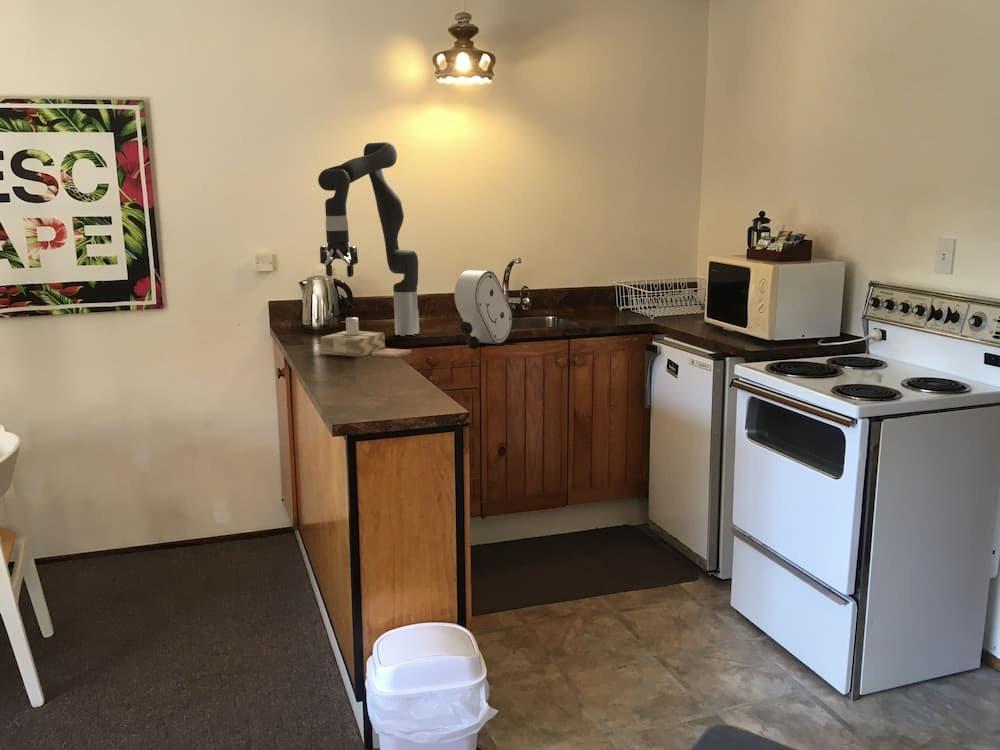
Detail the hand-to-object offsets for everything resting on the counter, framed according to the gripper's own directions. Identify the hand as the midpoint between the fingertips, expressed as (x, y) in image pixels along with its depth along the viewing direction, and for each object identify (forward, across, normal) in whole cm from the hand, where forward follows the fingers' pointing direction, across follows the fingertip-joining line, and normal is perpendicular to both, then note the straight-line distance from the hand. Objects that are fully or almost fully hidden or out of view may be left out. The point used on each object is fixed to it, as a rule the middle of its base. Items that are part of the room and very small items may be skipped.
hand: (339, 276), depth 300 cm
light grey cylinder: (+26, -1, -4) cm, 26 cm away
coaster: (+27, -17, -4) cm, 32 cm away
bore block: (+27, -1, -4) cm, 27 cm away
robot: (+28, -39, -31) cm, 57 cm away
